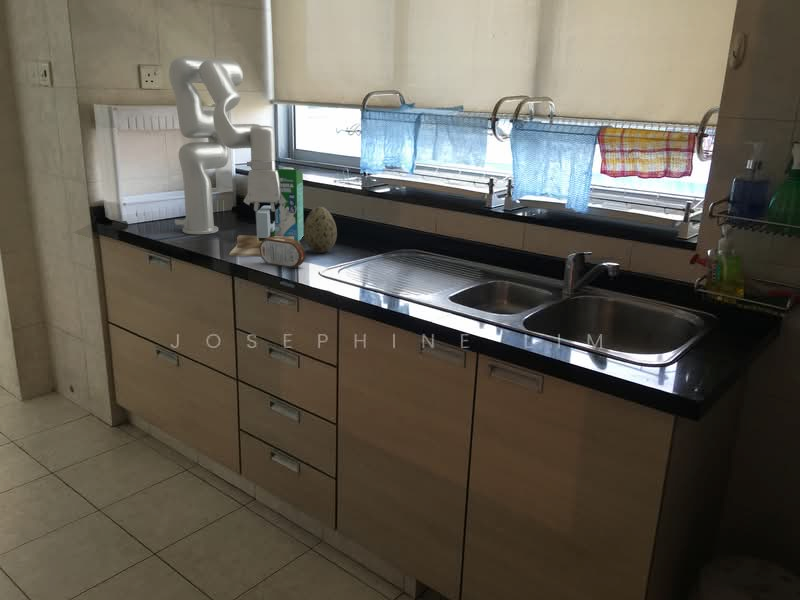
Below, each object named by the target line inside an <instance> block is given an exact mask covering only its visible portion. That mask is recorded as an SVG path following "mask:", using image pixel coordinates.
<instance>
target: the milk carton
mask: <svg viewBox="0 0 800 600" xmlns="http://www.w3.org/2000/svg"><path fill="white" fill-rule="evenodd" d="M276 170H278V174H279V179H280V188H281V193H282V195H283V197H284V198H285V200H286V203H284V204H283V205H281V206H279V207H278V208H277V209H276V210H275V217H276V220H275V230H274V231H273V232H271V234H272V235H271V237H272V236H273V237H274V236H292V237H294V240H296V241H298V242H300V240H302V239H303V238H304V237H303V236H304V233H303V231H304V180H303V179H304V178H303V177H304V173H303V172H301V171H299V170H297V169H294V167H289V166H286V167H285V166H284V167H282V168H276ZM278 202H280V200H279V201H278ZM278 202H275V204H277V203H278ZM302 237H303V238H302Z"/></svg>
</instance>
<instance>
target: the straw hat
mask: <svg viewBox="0 0 800 600" xmlns="http://www.w3.org/2000/svg"><path fill="white" fill-rule="evenodd" d="M274 237H279V238H286V239H293V240H294V237H292V236H274ZM262 241H263V240H260V238H257V235H243V234H242V235H241V234H240V235H238V236H237V237H236V243H237V244H236V245H235V246H234V248H232V250H231V251H230V252H229V256H236V257H237V256H238V257H240V256H241V257H261V255H260V250H259V248H260V244H261V242H262ZM298 242H299V243H300V241H298ZM300 244H301V243H300Z"/></svg>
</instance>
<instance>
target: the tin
mask: <svg viewBox="0 0 800 600" xmlns="http://www.w3.org/2000/svg"><path fill="white" fill-rule="evenodd" d="M261 241H262V242H261V244H260V248H259V250H260V255H261V256H260V257H261V259H262V260H263V261H264V262H265V263H266V264H267V265H272V266H278V267H283V266H284V268H289V267H290V269H292V268H296V267H299V266H301V265H302V264H303V263H304V262H305V259H306V251H305V248H304V247H303V245H302V244H301V243H299V242H300V241H296V240H293V239H286V238H279V237H273V236H272V235H271V236H269V237H268V238H264V239H263V240H261Z"/></svg>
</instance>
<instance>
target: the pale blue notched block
mask: <svg viewBox="0 0 800 600" xmlns="http://www.w3.org/2000/svg"><path fill="white" fill-rule="evenodd" d="M259 208H260V209H259V210H258V211H257V212H256V217H255V222H256V236H257V238H259V239H267V238H268V237H271V233H272V232H273V231H274V230H275V221H274V223H273V224H271V223H270V212H271V205H263V206H261V207H259Z"/></svg>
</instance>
